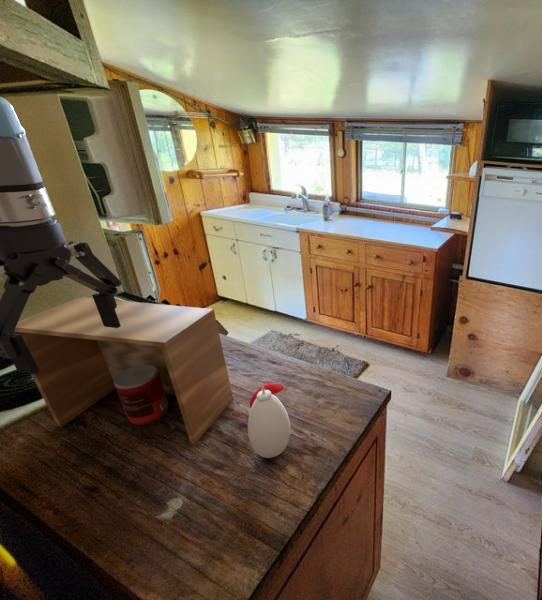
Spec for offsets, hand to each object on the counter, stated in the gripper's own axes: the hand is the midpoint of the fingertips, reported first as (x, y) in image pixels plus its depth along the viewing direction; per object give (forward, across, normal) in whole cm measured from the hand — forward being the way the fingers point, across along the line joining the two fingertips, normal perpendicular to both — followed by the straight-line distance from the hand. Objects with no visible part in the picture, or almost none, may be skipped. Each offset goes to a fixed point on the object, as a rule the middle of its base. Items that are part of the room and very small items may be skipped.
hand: (75, 346), depth 55 cm
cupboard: (+26, +11, +3) cm, 28 cm away
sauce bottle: (+25, +5, -30) cm, 39 cm away
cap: (+26, +17, -23) cm, 38 cm away
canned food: (+26, +10, +3) cm, 28 cm away
